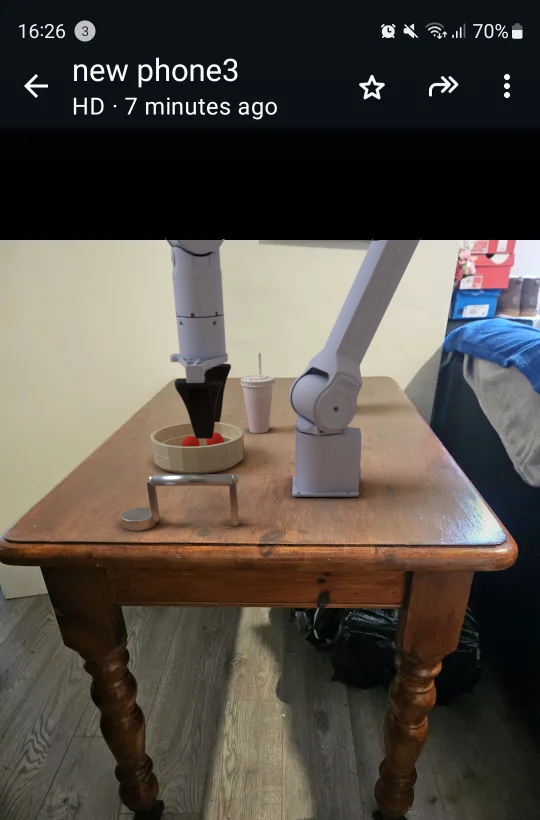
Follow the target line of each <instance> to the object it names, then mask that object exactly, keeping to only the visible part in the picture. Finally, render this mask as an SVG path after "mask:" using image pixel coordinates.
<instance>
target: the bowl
mask: <svg viewBox="0 0 540 820" xmlns="http://www.w3.org/2000/svg"><path fill="white" fill-rule="evenodd" d="M214 432H216V433H219V434H220V435H221V436H222V437H223V439H224V443H220V444H215V445H208V446H207V443H206V439H198V440H199V443H200V446H198V447H182V442H183V440H184V438H185V437H187V436H194V437H195V434H194V431H193V428H192V425H191V421H189V422H181V423H175V424H169V425H167V426H163V427H160V428H158V429H156V430H154V431H153V432H152V433H151V434H150V436H149V440H150V446H151V455H152V460H153V463H154V464H155V465H156V466H157V467H159V468H161V469H163V470H164V471H167V472H171V473H176V474H181V475H189V474H212V473H216V472H217V473H218V472H221V471H225V470H228V469H231V468H232V467H235V466H236V465H237V464H238V463H239V462H241V461H242V460H243V459H244V457H245V440H244V439H245V435H244V430H243V429H242V428H241V427H239V426H237V425H235V424H232V423H227V422H221V421H220V422H215V426H214Z"/></svg>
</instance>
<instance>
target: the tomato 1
mask: <svg viewBox="0 0 540 820" xmlns="http://www.w3.org/2000/svg"><path fill="white" fill-rule="evenodd" d="M198 446H200V443H199V440H198V439H197V438H196V437H194V436H187V437H185V438H184V440H183V442H182V447H198Z"/></svg>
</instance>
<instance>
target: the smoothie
mask: <svg viewBox="0 0 540 820" xmlns="http://www.w3.org/2000/svg"><path fill="white" fill-rule="evenodd" d="M257 372H258V373H257V374H256V375H255V374H254V375H246V376H243V377H241V378H240V385H241V386H242V389H243V390H242V391H243V399H244V404H245V411H246V417H247V424H248V429H249V432H250V433H254V434H264V433H268V432H269V428H270V418H271V409H272V400H273V399H272V398H273V389H274V385H275V383H276V382H275V377H274V376H272V375H266V374H264V375H263V374H262V353H261V352H258V353H257Z"/></svg>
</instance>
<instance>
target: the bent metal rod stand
mask: <svg viewBox="0 0 540 820" xmlns="http://www.w3.org/2000/svg"><path fill="white" fill-rule="evenodd" d="M238 483H239V478H238V476H237V475H236V474H234V473H233V474H232V473H231V474H230V473H229V474H227V473H226V474H225V473H224V474H223V473H221V474H212V473H204V474H151V475H149V476H148V478H147V481H146V487H147V495H148V503H149V507H135V508H131V509H127V510H125V511H123V513H121V517H120V518H121V522H122V527H123V528H124V529H126V530H127V531H133V532H139V531H145V530H149V529H152V528H154V527H155V526H156V525H157V522H158V521H159V520H160V510H159V509H160V508H159V503H158V502H159V501H158V493H157V487H229V503H230V522H231V526H232V527H238V526H239V505H238V487H237V485H238Z"/></svg>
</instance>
